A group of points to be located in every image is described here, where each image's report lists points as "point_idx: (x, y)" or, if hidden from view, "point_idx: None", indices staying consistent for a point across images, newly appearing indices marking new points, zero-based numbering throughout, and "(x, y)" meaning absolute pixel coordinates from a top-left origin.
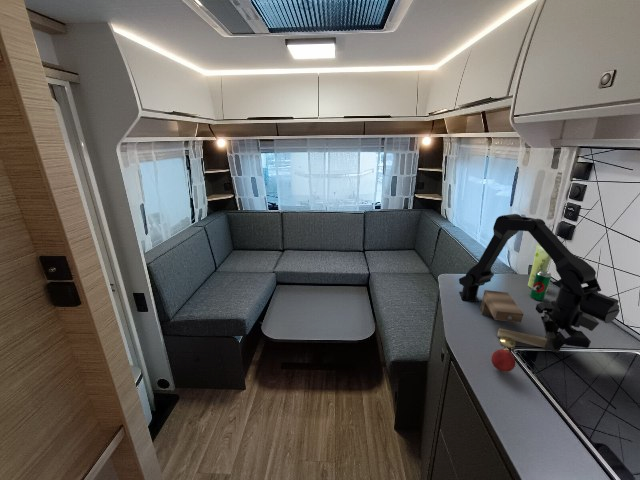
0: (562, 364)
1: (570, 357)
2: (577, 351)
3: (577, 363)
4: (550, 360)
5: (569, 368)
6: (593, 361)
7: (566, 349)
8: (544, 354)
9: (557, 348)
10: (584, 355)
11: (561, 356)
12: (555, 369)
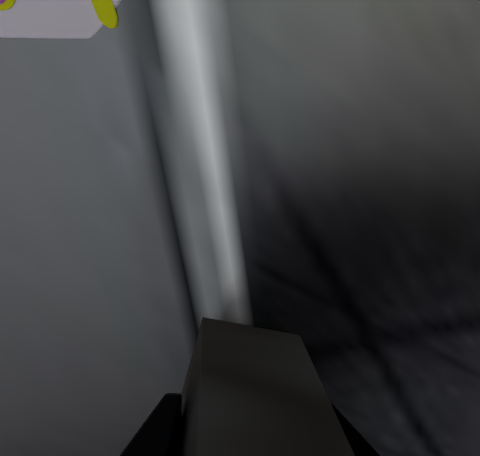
0: (425, 358)
1: (335, 240)
2: (225, 91)
3: (419, 224)
4: (378, 420)
5: (473, 330)
6: (394, 5)
7: (208, 206)
8: None
9: None
10: (292, 48)
11: (326, 315)
12: (472, 429)
